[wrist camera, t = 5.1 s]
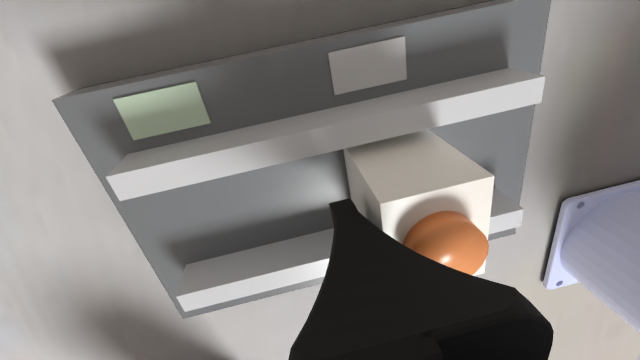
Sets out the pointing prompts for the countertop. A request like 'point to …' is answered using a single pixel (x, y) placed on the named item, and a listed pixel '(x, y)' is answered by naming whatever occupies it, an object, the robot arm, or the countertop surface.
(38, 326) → the countertop surface
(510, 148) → the grey flat ridged block
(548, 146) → the countertop surface
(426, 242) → the breaker knob
